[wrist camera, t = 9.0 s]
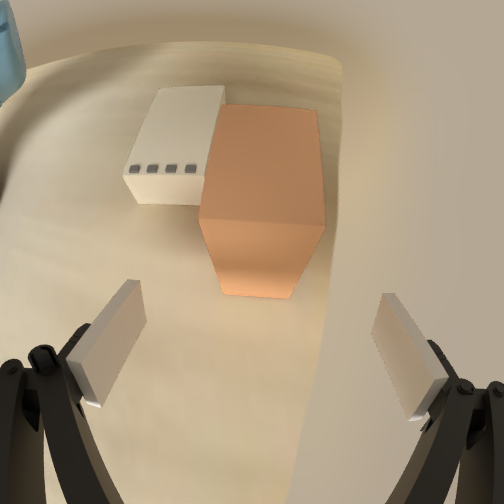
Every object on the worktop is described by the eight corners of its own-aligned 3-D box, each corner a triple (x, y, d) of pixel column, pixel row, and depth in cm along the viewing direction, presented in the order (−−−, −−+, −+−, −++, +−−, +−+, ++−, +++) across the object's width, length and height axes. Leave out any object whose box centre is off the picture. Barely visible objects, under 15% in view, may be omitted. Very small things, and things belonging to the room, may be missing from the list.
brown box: (222, 294, 22) (196, 218, 11) (231, 214, 25) (220, 104, 14) (289, 298, 22) (327, 227, 11) (291, 218, 25) (317, 110, 14)
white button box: (137, 203, 26) (119, 173, 21) (166, 117, 30) (158, 86, 26) (211, 206, 26) (204, 173, 21) (227, 116, 30) (225, 83, 26)
